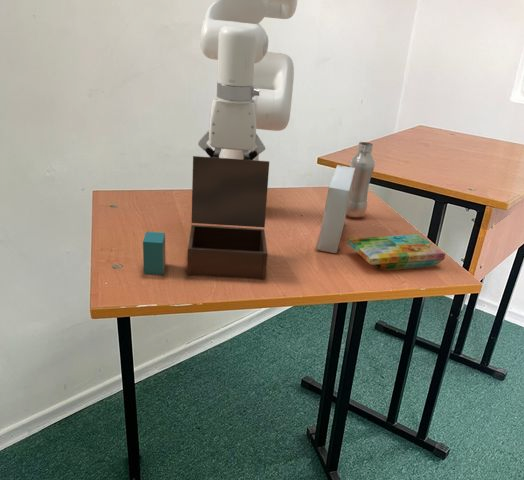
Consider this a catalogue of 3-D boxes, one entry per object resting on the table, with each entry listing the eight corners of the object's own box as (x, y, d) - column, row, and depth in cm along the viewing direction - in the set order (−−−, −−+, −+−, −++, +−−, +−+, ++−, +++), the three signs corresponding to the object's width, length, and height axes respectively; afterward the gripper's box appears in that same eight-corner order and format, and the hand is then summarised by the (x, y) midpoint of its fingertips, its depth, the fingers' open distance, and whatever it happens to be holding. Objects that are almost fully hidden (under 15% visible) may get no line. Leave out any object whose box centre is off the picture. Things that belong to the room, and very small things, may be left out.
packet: (163, 278, 124) (162, 242, 120) (143, 277, 124) (142, 241, 120) (165, 267, 129) (165, 232, 125) (147, 266, 128) (146, 231, 124)
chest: (264, 282, 126) (267, 253, 123) (187, 278, 125) (187, 248, 121) (261, 256, 138) (264, 229, 134) (190, 252, 136) (191, 224, 133)
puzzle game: (446, 250, 138) (370, 255, 132) (441, 268, 140) (367, 274, 134) (420, 231, 147) (348, 235, 141) (416, 249, 150) (345, 253, 143)
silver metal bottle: (342, 210, 170) (353, 139, 159) (365, 214, 169) (378, 142, 158) (340, 218, 164) (352, 144, 153) (364, 221, 163) (377, 148, 153)
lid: (269, 161, 128) (268, 159, 132) (193, 156, 127) (194, 154, 131) (264, 227, 134) (263, 223, 138) (191, 223, 132) (192, 219, 136)
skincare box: (338, 254, 142) (349, 190, 134) (316, 251, 143) (325, 186, 135) (345, 225, 160) (355, 166, 151) (326, 222, 161) (334, 163, 152)
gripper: (273, 93, 127) (266, 176, 137) (194, 86, 126) (193, 171, 136) (276, 99, 121) (268, 186, 131) (192, 93, 119) (191, 181, 129)
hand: (230, 178), depth 133 cm, fingers closed on lid, 5 cm apart
